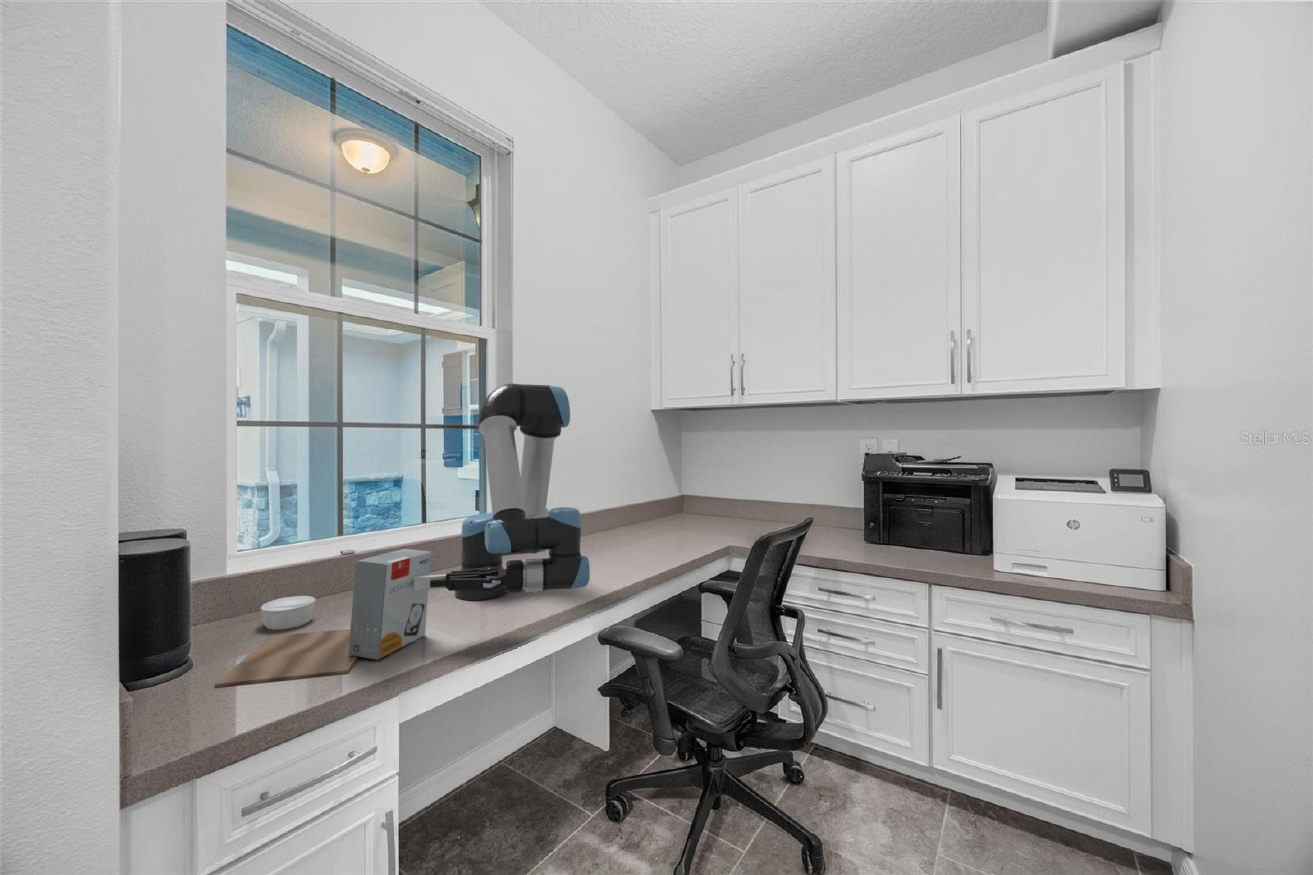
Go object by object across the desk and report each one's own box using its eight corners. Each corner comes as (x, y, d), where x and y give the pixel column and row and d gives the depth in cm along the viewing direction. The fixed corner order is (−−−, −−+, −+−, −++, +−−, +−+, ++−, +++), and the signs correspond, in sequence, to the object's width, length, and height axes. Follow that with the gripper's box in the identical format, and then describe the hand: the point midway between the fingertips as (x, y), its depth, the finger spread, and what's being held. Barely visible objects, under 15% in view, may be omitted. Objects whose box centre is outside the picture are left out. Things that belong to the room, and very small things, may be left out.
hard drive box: (378, 661, 107) (384, 564, 107) (346, 656, 108) (352, 560, 108) (426, 635, 122) (432, 550, 122) (398, 630, 123) (403, 547, 124)
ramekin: (270, 635, 121) (270, 613, 121) (252, 625, 127) (253, 604, 127) (323, 622, 130) (323, 601, 130) (304, 612, 136) (304, 593, 136)
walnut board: (377, 629, 125) (377, 626, 125) (348, 673, 102) (348, 670, 102) (271, 638, 119) (271, 635, 119) (214, 687, 96) (214, 684, 96)
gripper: (524, 600, 116) (409, 609, 109) (522, 584, 129) (419, 591, 122) (524, 566, 116) (410, 573, 109) (522, 553, 129) (419, 559, 122)
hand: (414, 583), depth 116 cm, fingers closed
